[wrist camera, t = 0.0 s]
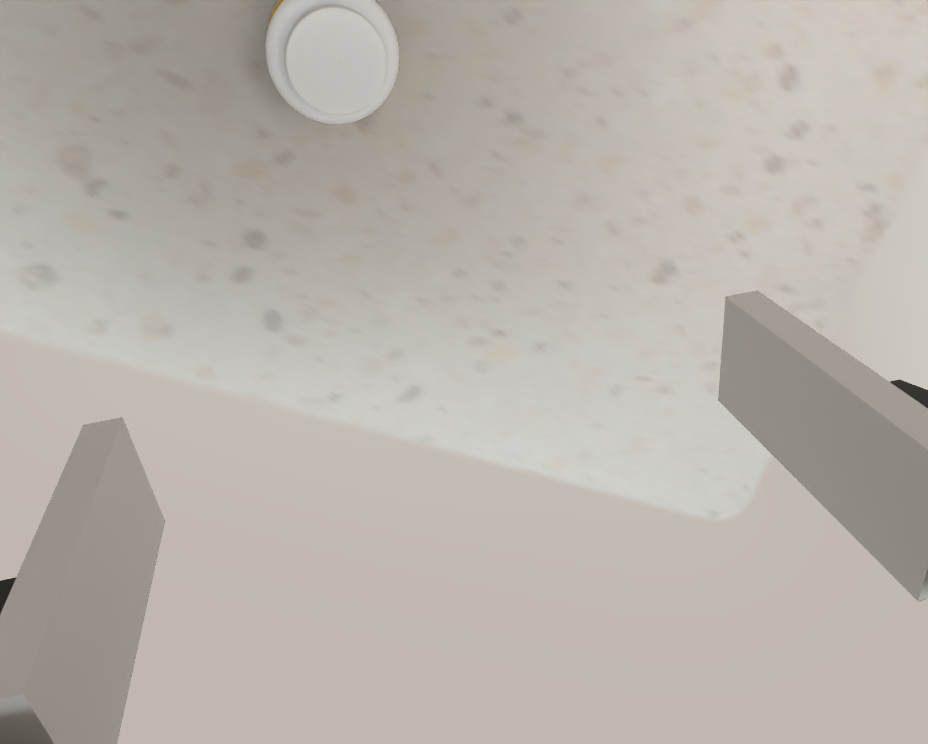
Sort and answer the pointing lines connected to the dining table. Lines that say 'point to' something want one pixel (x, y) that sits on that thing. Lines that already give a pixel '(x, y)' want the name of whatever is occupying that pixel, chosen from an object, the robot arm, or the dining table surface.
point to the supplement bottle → (332, 57)
